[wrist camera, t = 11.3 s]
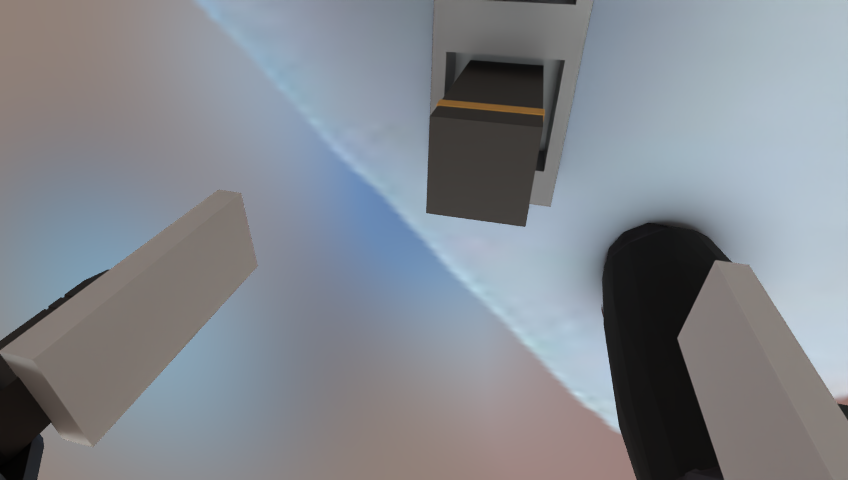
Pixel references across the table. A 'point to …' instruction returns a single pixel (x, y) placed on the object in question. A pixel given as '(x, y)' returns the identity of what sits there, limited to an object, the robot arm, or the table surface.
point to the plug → (486, 143)
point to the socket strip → (517, 59)
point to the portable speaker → (657, 349)
